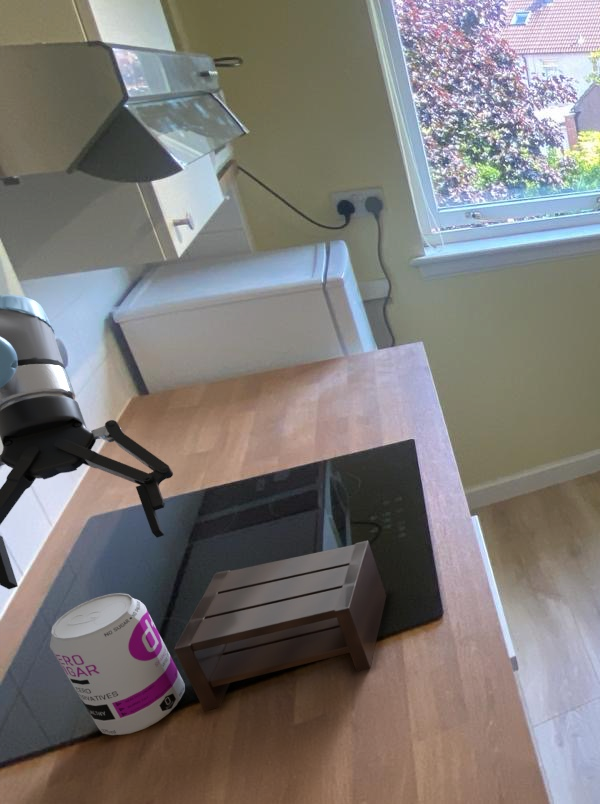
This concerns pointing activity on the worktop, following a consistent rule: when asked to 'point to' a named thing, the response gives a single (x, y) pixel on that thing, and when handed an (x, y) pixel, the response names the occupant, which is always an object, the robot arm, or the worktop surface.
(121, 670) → the white drink can
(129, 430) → the worktop surface
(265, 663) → the rack
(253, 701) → the worktop surface
